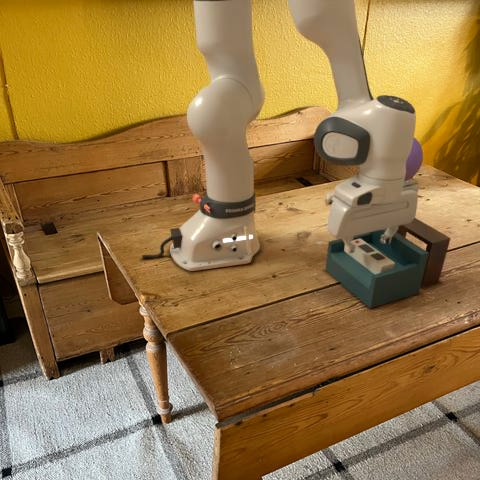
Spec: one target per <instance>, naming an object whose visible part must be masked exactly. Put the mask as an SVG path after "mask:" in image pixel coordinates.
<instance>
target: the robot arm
mask: <svg viewBox="0 0 480 480" xmlns="http://www.w3.org/2000/svg"><path fill="white" fill-rule="evenodd" d="M192 2H193V14H194V15H193V16H194V27H195V36H196V46H197V49H198V50H199V52H200V53H201V54H202V56H203V58H204V61H205V63H206V67H207V70H208V74H209V79H210V80H209V81H210V82H209V84H208V85H205V86H204V87H203V88H202V89H201V88H200V90H199V91H198V92H197V93H196V95H195V96H194V97H193V99H192V101H190V103H189V105H188V108H187V111H186V122H187V125H188V129H189V131H190V132H191V134H192V135H193V136H194V137H195V138H196V139H197V140H198V142H199V147H200V149H201V152H202V156H203V160H204V167H205V168H204V169H205V184H206V185H205V186H206V192H205V194H204V196H203V197H202V196H201V195H200V194H199V193H195V194H194V195H193V196H192V201H193V202H194V203H195V204H196V205H199V209H198V211H196V212H195V213H194V214H193V215H192V216H191V217H190V218H188V220H186V221H185V222H184V223H183V224H181V226H180V227H174V228H173V227H172V228H170V229H169V230H170V237H168V238H166V239H165V240H163V242H162V243H161V244H160V245H159V246H160V249H159V250H160V252H159V253H158V254H142V256H141V257H142V259H149V260H150V259H151V260H152V259H159V258H161V257H162V256H163V255H164V254H165V246H166V245H167V244H168V243H169V242H172V243H170V246H169V254H170V256H171V258H172V260H173V261H174V262H175V263H176V265H178V266H179V267H181V268H182V269H184V270H187V271H189V272H195V271H203V270H210V269H216V268H217V269H218V268H224V267H225V268H226V267H231V266H239V265H247V264H250V263H251V262H252V260H253V257H254V256H255V254H257V253H258V252H259V250H260V248H261V244H260V241H259V237H258V233H257V229H256V227H257V226H256V219H255V214H256V210H257V209H256V205H257V204H256V203H257V201H256V200H257V199H256V191H255V188H254V187H255V160H254V158H253V156H252V155H251V153H250V149H249V145H248V140H247V139H248V138H247V129H248V126H249V125H250V124H251V123H253V122H254V121H255V120H256V119H257V118H258V116H259V115H260V113H261V111H262V109H263V106H264V104H265V100H266V91H265V87H264V84H263V83H262V81H261V80H260V74H259V69H258V64H257V60H256V54H255V48H254V47H255V45H254V37H253V10H252V9H253V7H252V0H192ZM287 4H288V8H289V13H290V15H291V19H292V21H293V23H294V26H295V28H296V31H297V32H298V33H299V34H300V35H301V36H302V38H305V40H307V41H309V42H312V43H313V44H315V45H316V46H318V47H319V48H320V49H321V50H322V52H324V54H325V55H326V57H327V59H328V62H329V65H330V69H331V70H330V71H331V74H332V79H333V83H334V87H335V91H336V97H337V106H336V110H335V111H334V112H332V113H330V114H329V115H328V116H327V117H325V118H324V119H323V120H321V122H320V123H319V124H318V125H317V127H316V129H315V131H314V135H313V145H314V149H315V152H316V153H317V156H319V158H320V159H321V160H323V162H325V163H326V164H329V165H332V166H340V167H341V166H342V167H345V166H346V167H351V166H352V167H353V166H359V168H358V172H356V173H355V174H354V175H352V176H350V177H349V178H348V179H346V180H343V181H342V182H340V183H338V184H337V185H335V187H334V190H333V192H334V194H335V195H336V196H337V198H336V199H335V200H334V201H333V202H331V205H330V209H329V213H328V217H327V225H326V227H327V228H326V230H327V232H328V233H329V234H330V235H331V236H332V237H334V238H335V240H338V239H343V241H344V243H345V247H344V251H345V252H346V253H347V254H350V253H354V252H355V247H356V246H355V245H354V244H353V243H351V241H350V240H353V236H356V235H361V234H365V233H369V232H373V231H378V230H382V229H386V228H387V230H386V232H385V233H384V234H383V235H381V239H380V242H381V243H382V244H383V245H386V244H390V243H391V239H392V237H393V235H394V234H395V233H396V231H397V230H398V227H399V225H404V224H408V223H411V222H412V221H413V219H414V218H416V214H417V209H418V201H419V196H418V195H419V194H418V193H419V189H420V184H419V183H418V181H416V180H415V179H409V180H408V181H404V179H405V175H406V161H407V158H408V156H409V155H410V152H411V148H412V144H413V139H414V138H415V132H416V126H417V125H416V124H417V114H416V113H417V112H416V109H415V107H414V106H413V105H412V104H411V102H409V101H408V100H406V99H404V98H402V97H399V96H396V95H387V94H381V95H378V96H377V97H375V98H374V97H373V94H372V92H371V88H370V85H369V79H368V75H367V69H366V64H365V58H364V54H363V47H362V41H361V37H360V33H359V28H358V22H357V15H356V5H355V0H287Z"/></svg>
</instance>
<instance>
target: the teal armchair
mask: <svg viewBox="0 0 480 480" xmlns="http://www.w3.org/2000/svg"><path fill="white" fill-rule="evenodd" d="M386 230H387V228H386V229H382V230H378V231H373V232H369V233H365V234H361V235H356V236H353V240H356V239H362V240H363V241H365V242H366V243H368V244H369V245H370V246H372V247H373V248H375V249H376V250H377V251H379V252H380V253H382V254H383V255H385V256H386V257H387V258H389V259H390V260H392V261H393V262H395V266H394V269H392V270H388V271H385V272H382V273H378V274H374V273H372V272H371V271H370V270H368V269H367V268H366V267H364V266H363V265H362V264H360V263H359V262H358V261H357V260H355V259H354V258H353V257H351V256H350V255H349V254H347V253H346V252H345V251H344V247H345V243H344V241H343V239H334V240H330V241H328V245H327V253H326V262H325V272H327V273H328V274H329V275H331V276H332V277H333V278H334V279H335V280H336V281H338V282H339V283H340V284H341V285H342V286H344V288H346V289H347V290H348V291H349V292H351V294H353V295H354V296H355V297H356V298H357V299H359V300H360V301H361V302H363V304H365V305H366V306H367V307H368V308H370V309H373V308H376V307H378V306H382V305H386V304H388V303H392V302H394V301H398V300H401V299H404V298H408V297H411V296H414V295H417V294H419V293H420V290H421V288H422V287H421V283H422V279H423V275H424V271H425V267H426V263H427V259H428V255H429V252H427V251H425V250H426V249H424V248H422V247H421V246H419V245H418V244H416V243H414V242H413V241H411V240H410V239H408V238H407V237H406V238H405V237H403V236H402V235H400V234H398V233H397V232H396V233H395V234H394V235H393V237H392V239H391V243H390V244H386V245H383V244H382V243H381V242H380V239H381V235H383V234H384V233H385V232H386ZM350 241H352V240H350Z"/></svg>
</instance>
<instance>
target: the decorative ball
mask: <svg viewBox="0 0 480 480" xmlns="http://www.w3.org/2000/svg"><path fill="white" fill-rule="evenodd" d="M423 160H424V152H423V147H422V144H421V143H420V142H419V140H418V139H417V138H416V137H414V139H413V144H412V148H411V152H410V155H409V156H408V158H407V161H406V175H405V179H404V181H408V180H412V178H413V177H415V176H416V175H417V173H418V172H419V171H420V169H421V168H422V164H423Z"/></svg>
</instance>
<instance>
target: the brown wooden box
mask: <svg viewBox="0 0 480 480" xmlns="http://www.w3.org/2000/svg"><path fill="white" fill-rule="evenodd" d="M396 232H397V233H398V234H400V235H402V236H403V237H405V238H406V239H407V233H408V234H409V235H411V236H412V237H414V238H416V239H417V240H419V241H421V242H422V243H424V244H426V246H425V249H424V250H425V251H427V252H429V255H428V259H427V263H426V267H425V271H424V275H423V279H422V283H421V287H420V288H423V287H426V286H430V285H434V284H437V283H439V282H440V279H441V275H442V271H443V267H444V263H445V260H446V256H447V253H448V250H449V246H450V243H451V239H452V238H451V237H450V236H447V235H446V234H444V233H442V232H441V231H439V230H438V229H435V228H434V227H432V226H430V225H429V224H427V223H425V222H423V221H422V220H420V219H418V218H416V217H415V218H414V219H413V221H412V222H411V223H408V224H404V225H399V227H398V230H397V231H396Z"/></svg>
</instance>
